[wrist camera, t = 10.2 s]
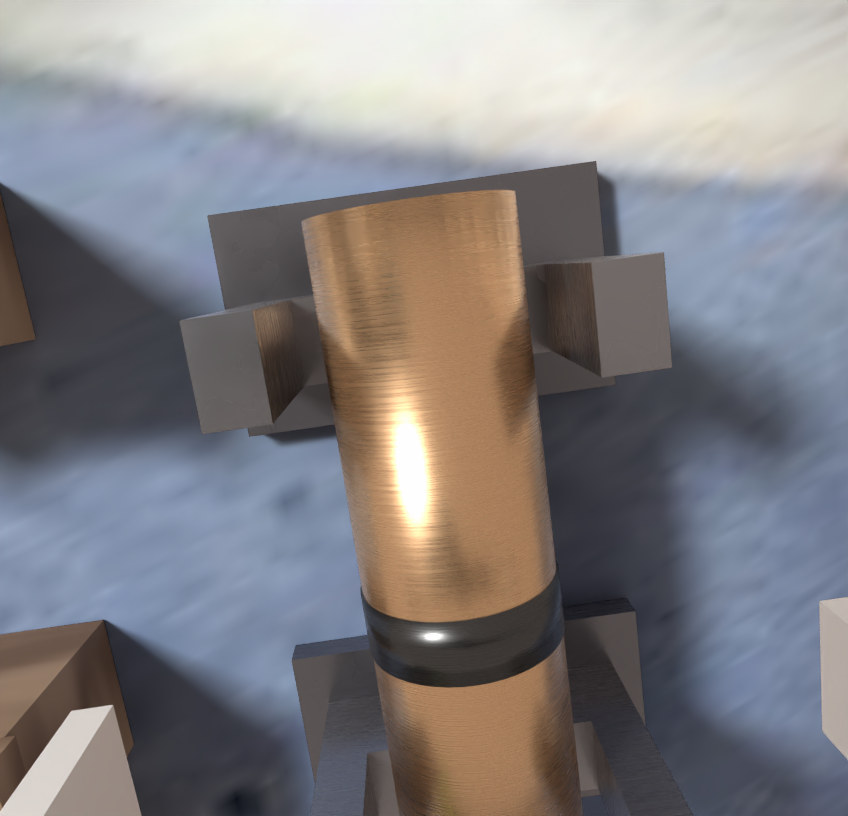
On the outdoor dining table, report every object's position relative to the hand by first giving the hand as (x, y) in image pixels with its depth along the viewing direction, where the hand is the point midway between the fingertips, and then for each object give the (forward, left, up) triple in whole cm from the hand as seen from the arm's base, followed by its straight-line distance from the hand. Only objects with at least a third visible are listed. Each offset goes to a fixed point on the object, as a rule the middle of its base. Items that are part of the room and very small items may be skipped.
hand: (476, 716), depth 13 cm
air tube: (0, 0, -6) cm, 6 cm away
